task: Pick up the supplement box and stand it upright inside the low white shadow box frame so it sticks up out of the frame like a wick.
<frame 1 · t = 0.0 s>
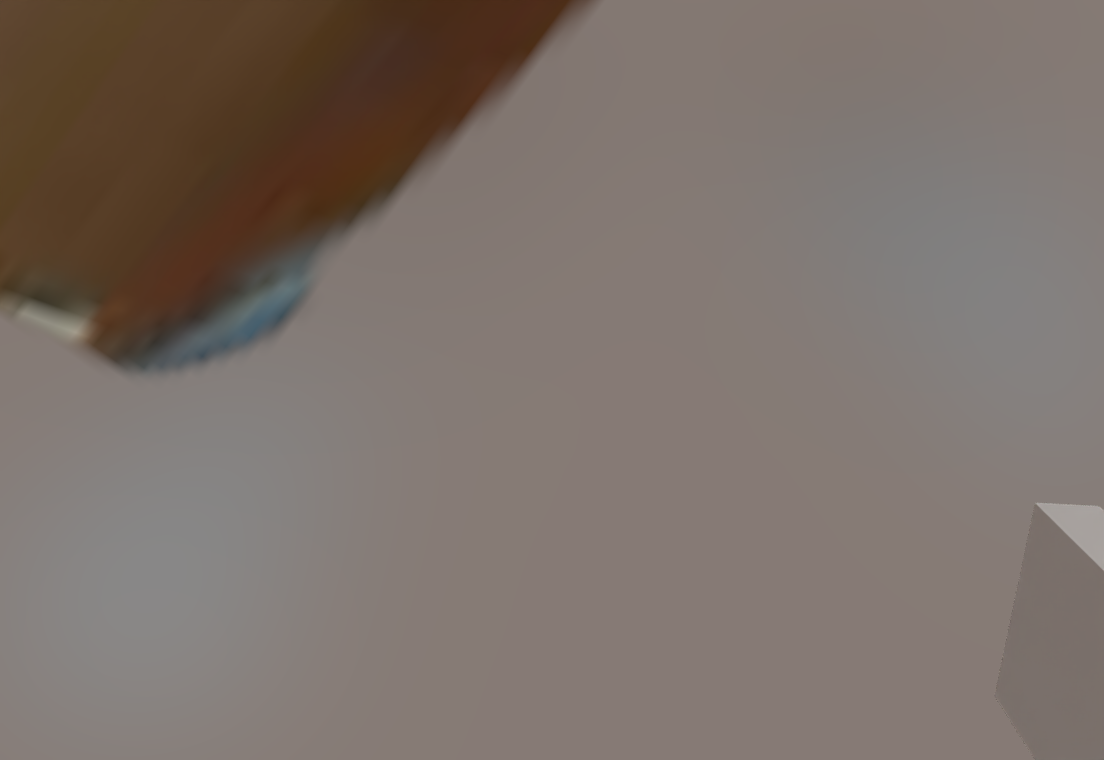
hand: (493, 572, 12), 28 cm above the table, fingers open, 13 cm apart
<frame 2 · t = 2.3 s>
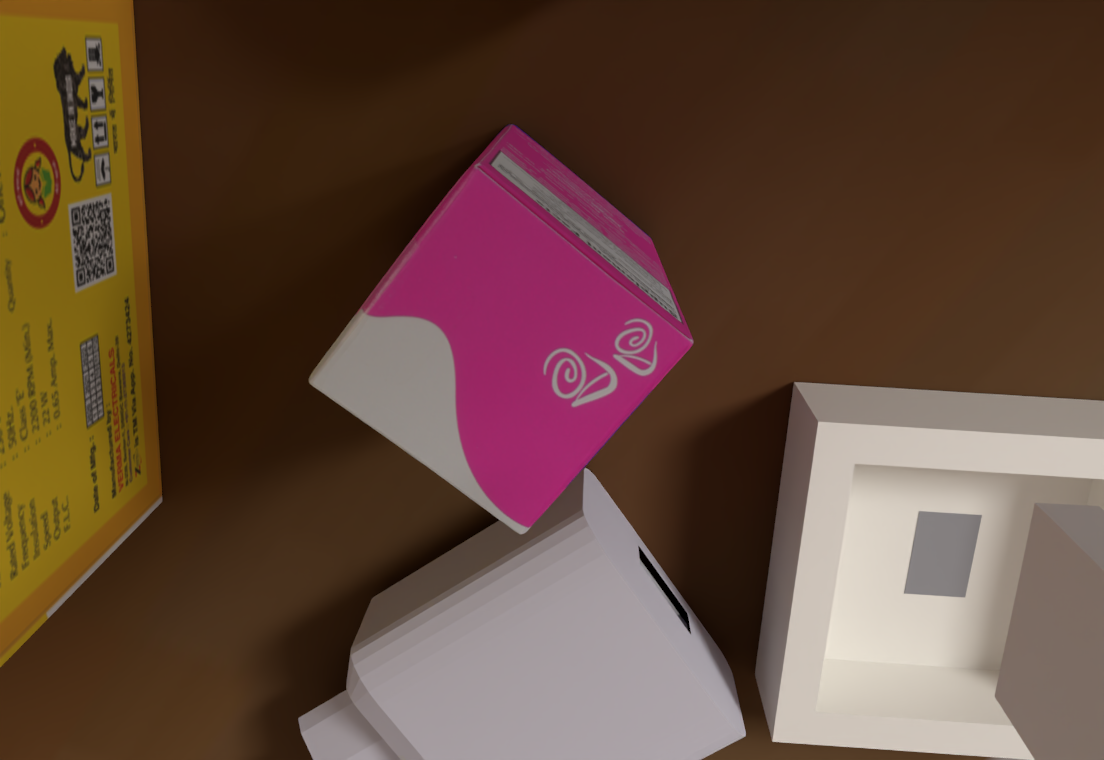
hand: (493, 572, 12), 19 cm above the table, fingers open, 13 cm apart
white shadow box frame: (936, 546, 33), on the table
supplement box: (528, 252, 31), on the table
charger: (483, 661, 35), on the table
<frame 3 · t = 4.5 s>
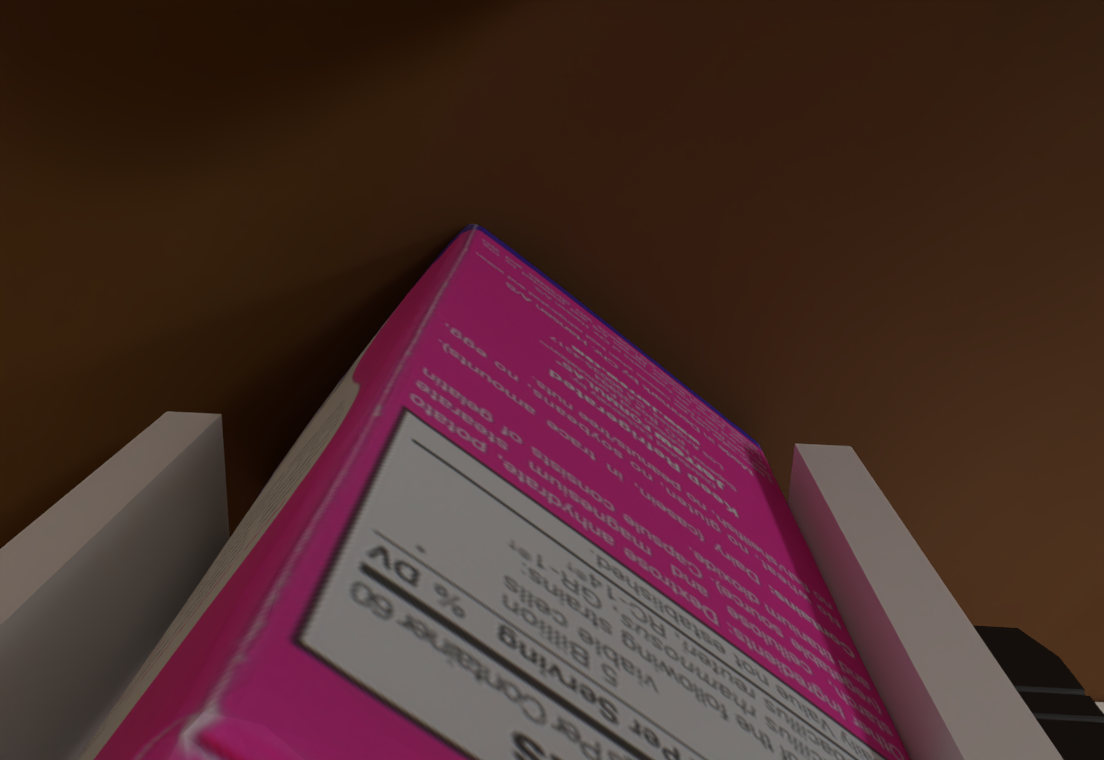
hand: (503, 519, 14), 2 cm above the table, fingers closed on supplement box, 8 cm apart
supplement box: (514, 465, 16), on the table, touching gripper
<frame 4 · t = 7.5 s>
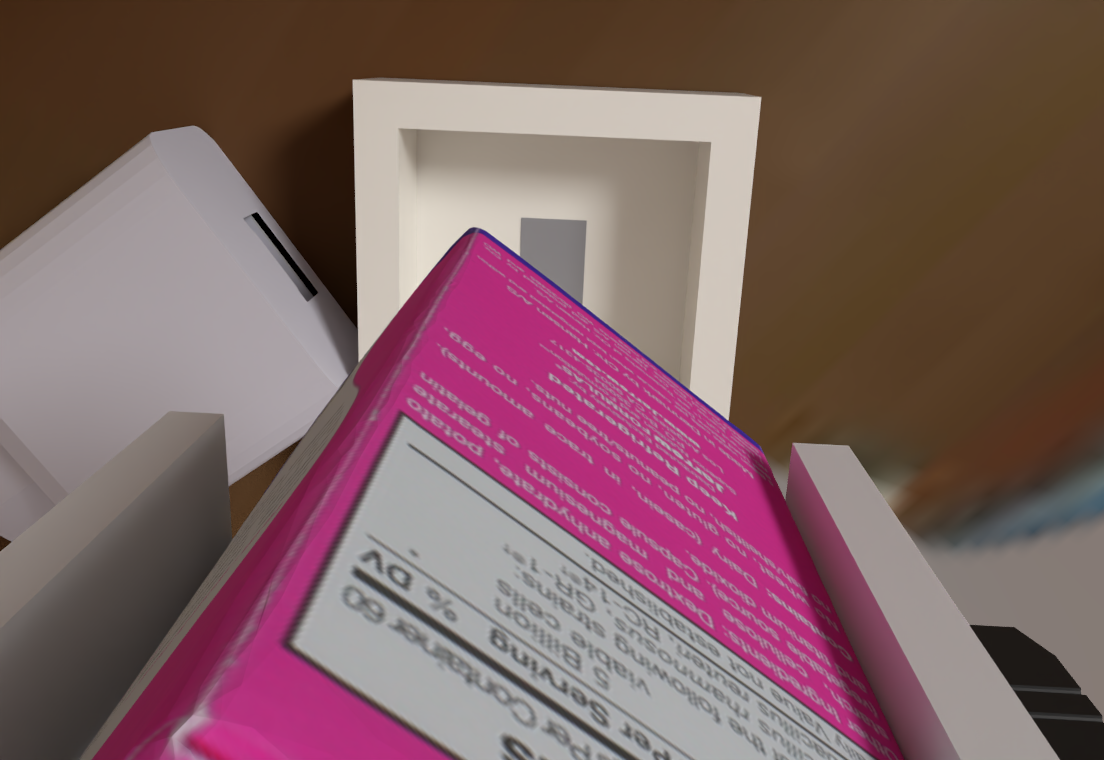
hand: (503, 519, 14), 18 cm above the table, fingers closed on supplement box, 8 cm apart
white shadow box frame: (552, 263, 31), on the table
supplement box: (516, 467, 16), point 16 cm above the table, touching gripper
charger: (128, 368, 33), on the table
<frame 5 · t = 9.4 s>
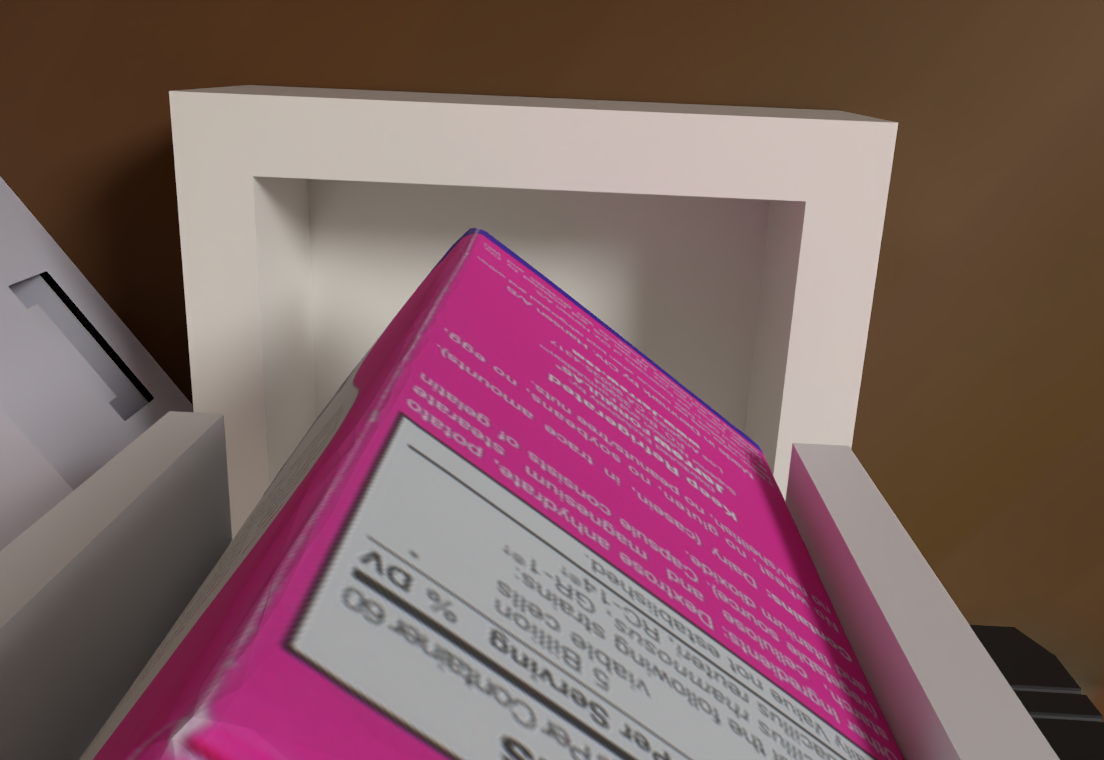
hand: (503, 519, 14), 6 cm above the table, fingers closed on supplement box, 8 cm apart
white shadow box frame: (532, 378, 20), on the table
supplement box: (516, 467, 16), point 4 cm above the table, touching gripper
when the fingers open (5 cm above the table, at t = 10.6 s): supplement box drops 2 cm, resting on white shadow box frame.
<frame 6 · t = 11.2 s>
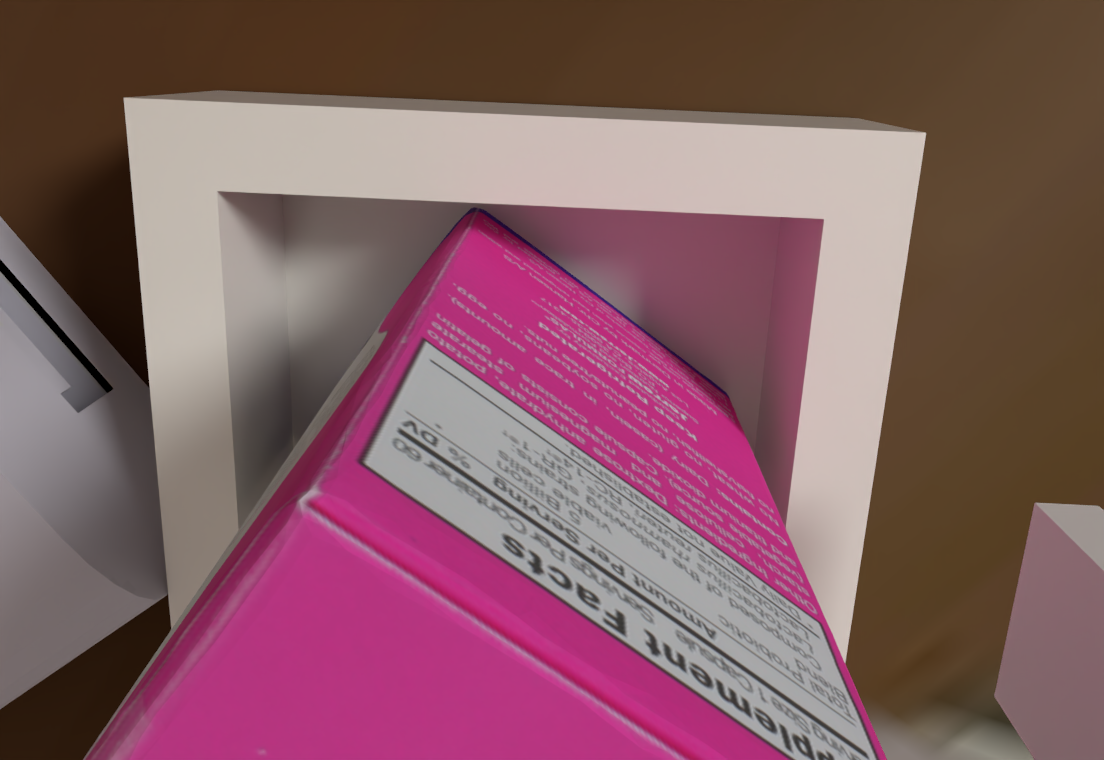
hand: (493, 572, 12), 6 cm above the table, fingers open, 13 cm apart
white shadow box frame: (525, 405, 18), on the table
supplement box: (516, 417, 18), resting on white shadow box frame
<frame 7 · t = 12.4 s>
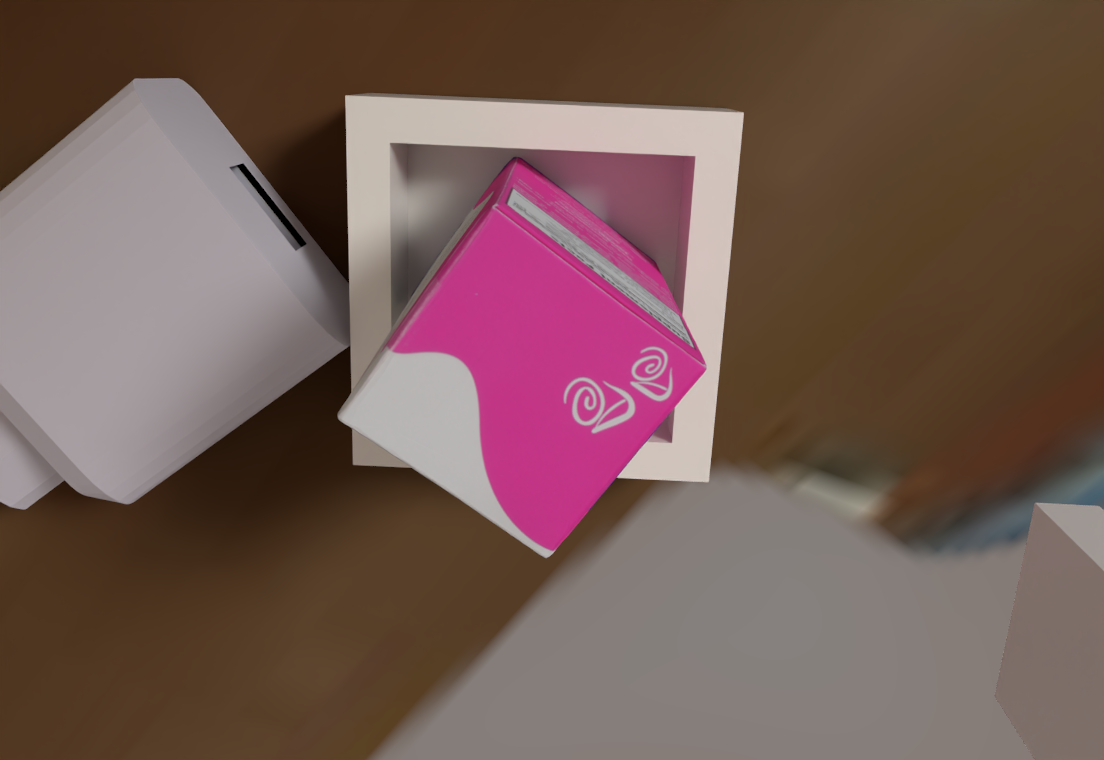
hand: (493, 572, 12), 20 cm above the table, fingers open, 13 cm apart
white shadow box frame: (541, 274, 32), on the table
supplement box: (536, 279, 31), resting on white shadow box frame
charger: (119, 329, 33), on the table
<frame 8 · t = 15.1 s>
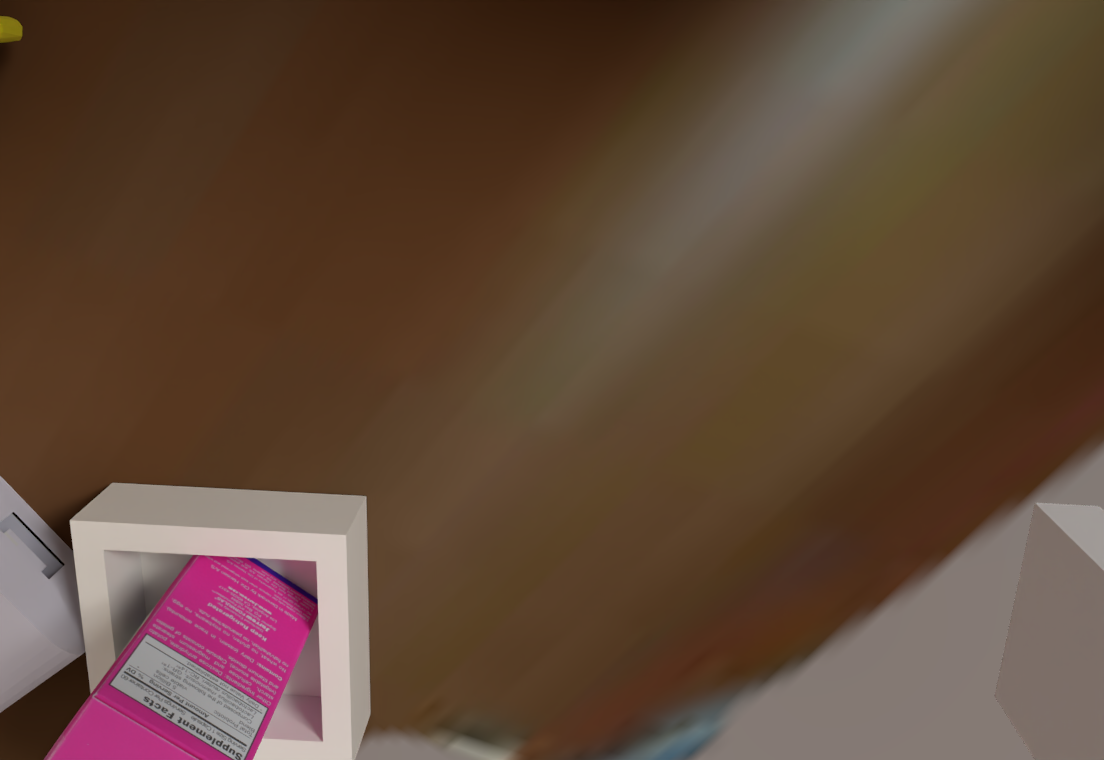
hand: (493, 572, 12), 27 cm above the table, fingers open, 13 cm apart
white shadow box frame: (246, 602, 43), on the table
supplement box: (239, 608, 43), resting on white shadow box frame
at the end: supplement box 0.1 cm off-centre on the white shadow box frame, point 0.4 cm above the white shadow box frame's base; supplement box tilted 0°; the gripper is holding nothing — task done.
